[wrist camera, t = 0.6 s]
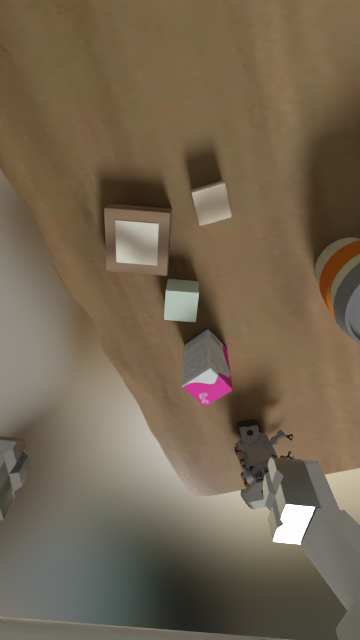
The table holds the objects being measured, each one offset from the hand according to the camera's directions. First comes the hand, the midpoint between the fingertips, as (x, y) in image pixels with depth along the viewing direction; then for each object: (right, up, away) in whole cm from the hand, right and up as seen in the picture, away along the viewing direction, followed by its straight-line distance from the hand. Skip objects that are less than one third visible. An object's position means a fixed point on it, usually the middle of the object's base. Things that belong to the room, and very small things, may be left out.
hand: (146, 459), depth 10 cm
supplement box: (+6, 0, +47) cm, 47 cm away
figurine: (+18, -20, +57) cm, 63 cm away
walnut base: (-5, +17, +38) cm, 42 cm away
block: (+5, +22, +35) cm, 42 cm away
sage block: (+1, +9, +42) cm, 43 cm away
